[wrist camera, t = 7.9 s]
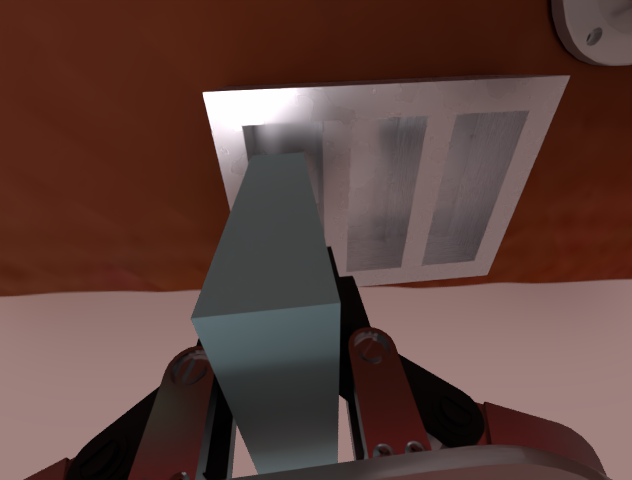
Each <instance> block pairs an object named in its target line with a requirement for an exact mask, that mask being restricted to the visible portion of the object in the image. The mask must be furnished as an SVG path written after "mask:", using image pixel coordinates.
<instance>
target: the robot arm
mask: <svg viewBox="0 0 632 480" xmlns="http://www.w3.org/2000/svg"><path fill="white" fill-rule="evenodd" d="M551 4H552V17H553V20H554V24H555V27H556V31H557V34H558V36H559V38H560V40H561V41H562V43H563V45H564V46H565V48H566V49H567V50H568V51H569V52H570V53H571V54H572V55H573V56H575V57H576V58H577V59H578V60H581V61H583V62H586V63H588V64H591V65H600V66H620V65H631V64H632V0H551ZM327 250H328V254H329V258H330V262H331V266H332V270H333V274H334V278H335V283H336V287H337V291H338V295H339V299H340V303H341V304H340V358H339V395H340V396H341V397H343V398H344V399H345V400H346V406H347V413H348V420H349V427H350V434H351V441H352V448H353V455H354V461H350V462H343V463H335V464H328V465H321V466H314V467H307V468H301V469H294V470H287V471H280V472H273V473H266V474H259V475H252V476H246V477H239V478H232V470H233V459H234V448H235V436H236V426H237V424H236V422H235V419H234V417H233V415H232V412H231V410H230V408H229V406H228V403H227V401H226V399H225V396H224V394H223V392H222V389H221V387H220V385H219V383H218V380H217V378H216V376H215V373H214V371H213V369H212V366H211V364H210V362H209V359H208V357H207V355H206V353H205V350H204V348H203V346H202V343H201V341H200V339H198V342H197V345H196V346H194V347H191V348H188V349H186V350H184V351H182V352H180V353H179V354H178V355H177V356H175V357H174V359H173V360H172V361H171V362H170V363H169V364H168V366H167V369H166V370H165V373H164V376H163V379H162V382H161V385H160V386H159V387H158V388H157V389H156V390H154V391H153V392H152V393H150V394H149V395H148V396H146V397H145V398H144V399H143V400H141V401H140V402H139V403H138V404H136V405H135V406H134V407H132V408H131V409H130V410H129V411H127V412H126V413H125V414H124V415H122V416H121V417H120V418H118V419H117V420H116V421H115V422H114V423H112V424H111V425H110V426H108V427H107V428H106V429H104V430H103V431H102V432H101V433H99V434H98V435H97V436H96V437H94V438H93V439H92V440H91V441H90V442H89V443H88V444H87V445H85V446H84V447H83V448H82V450H81V451H80V452H79V453H78V455H77V456H76V457H75V458H73V459H71V460H70V459H68V458H64V459H63V460H61V461H59V462H57V463H55V464H53V465H51V466H49V467H47V468H45V469H43V470H41V471H39V472H37V473H36V474H34V475H32V476H30V477H28V478H26V479H24V480H612V479H610V478H609V477H607V476H606V473H605V471H604V469H603V466H602V464H601V462H600V459H599V458H598V456H597V455H596V453H595V451H594V449H593V448H592V447H591V446H590V444H589V443H588V442H587V441H586V440H585V439H584V438H583V437H582V436H580V435H579V434H578V433H576V432H575V431H574V430H572V429H571V428H569V427H566V426H564V425H562V424H560V423H557V422H553V421H550V420H546V419H543V418H540V417H536V416H533V415H529V414H526V413H522V412H519V411H516V410H512V409H509V408H505V407H502V406H499V405H495V404H492V403H488V402H484V404H480V403H476V402H474V401H473V400H472V399H471V398H470V396H468V395H467V394H465V393H464V392H463V391H461V390H460V389H458V388H456V387H454V386H453V385H451V384H449V383H447V382H446V381H444V380H442V379H441V378H439V377H437V376H435V375H434V374H432V373H430V372H429V371H427V370H425V369H424V368H422V367H420V366H418V365H417V364H415V363H413V362H412V361H410V360H408V359H406V358H405V357H403V356H401V355H400V354H398V352H397V349H396V346H395V344H394V342H393V340H392V338H391V337H390V336H388V335H387V333H385V332H383V331H382V330H380V329H376V328H372V327H371V326H370V323H369V321H368V317H367V315H366V312H365V309H364V306H363V303H362V300H361V297H360V294H359V291H358V288H357V285H356V282H355V279H354V277H353V276H342V277H339V273H338V270H337V266H336V262H335V259H334V255H333V251H332V248H331V246H328V247H327Z"/></svg>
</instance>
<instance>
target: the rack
mask: <svg viewBox="0 0 632 480" xmlns="http://www.w3.org/2000/svg"><path fill="white" fill-rule="evenodd" d="M569 78H570V76H566V75H520V74H494V75H471V76H449V77H426V78H403V79H381V80H358V81H336V82H313V83H291V84H268V85H246V86H224V87H220V88H217V89H213V90H209V91H206V92H203V96H204V101H205V105H206V109H207V113H208V118H209V122H210V126H211V130H212V135H213V139H214V143H215V147H216V152H217V156H218V160H219V164H220V169H221V173H222V177H223V181H224V186H225V190H226V194H227V198H228V203H229V207H230V211H231V210H232V207H233V204H234V202H235V199H236V196H237V194H238V191H239V188H240V186H241V183H242V180H243V178H244V175H245V172H246V170H247V167H248V164H249V162H250V159H251V156H254V155H270V154H285V153H300V152H304V157H305V161H306V165H307V169H308V173H309V177H310V181H311V185H312V189H313V193H314V197H315V201H316V205H317V209H318V213H319V218H320V222H321V226H322V230H323V234H324V238H325V242H326V246H327V247H328V246H331V248H332V251H333V255H334V259H335V262H336V266H337V270H338V273H339V277H342V276H353V277H354V279H355V282H356V285H357V287H360V286H371V285H382V284H393V283H404V282H415V281H426V280H437V279H448V278H459V277H470V276H481V275H487V274H488V272H489V270H490V267H491V265H492V262H493V260H494V258H495V255H496V253H497V250H498V248H499V246H500V243H501V241H502V238H503V236H504V234H505V231H506V229H507V226H508V224H509V222H510V219H511V217H512V215H513V212H514V210H515V207H516V205H517V203H518V200H519V198H520V195H521V193H522V191H523V188H524V186H525V183H526V181H527V179H528V176H529V174H530V171H531V169H532V167H533V164H534V162H535V159H536V157H537V155H538V152H539V150H540V147H541V145H542V143H543V140H544V138H545V135H546V133H547V131H548V128H549V126H550V123H551V121H552V119H553V116H554V114H555V111H556V109H557V107H558V104H559V102H560V99H561V97H562V95H563V92H564V90H565V87H566V85H567V83H568V80H569Z"/></svg>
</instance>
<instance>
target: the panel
mask: <svg viewBox="0 0 632 480" xmlns="http://www.w3.org/2000/svg"><path fill="white" fill-rule="evenodd" d="M340 304H341V303H340V299H339V295H338V291H337V287H336V283H335V278H334V274H333V270H332V266H331V262H330V258H329V254H328V250H327V246H326V242H325V238H324V234H323V230H322V226H321V222H320V218H319V213H318V209H317V205H316V201H315V197H314V193H313V189H312V185H311V181H310V177H309V173H308V169H307V165H306V161H305V157H304V152H300V153H285V154H270V155H254V156H251V159H250V162H249V164H248V167H247V170H246V172H245V175H244V178H243V180H242V183H241V186H240V188H239V191H238V194H237V196H236V199H235V202H234V204H233V207H232V210H231V212H230V215H229V218H228V220H227V223H226V226H225V228H224V231H223V234H222V236H221V239H220V242H219V244H218V247H217V250H216V252H215V255H214V258H213V260H212V263H211V266H210V268H209V271H208V274H207V277H206V279H205V282H204V285H203V287H202V290H201V293H200V295H199V298H198V301H197V303H196V306H195V309H194V311H193V314H192V317H191V320H192V323H193V325H194V327H195V330H196V332H197V334H198V336H199V339H200V341H201V343H202V346H203V348H204V350H205V353H206V355H207V357H208V359H209V362H210V364H211V366H212V369H213V371H214V373H215V376H216V378H217V380H218V383H219V385H220V387H221V389H222V392H223V394H224V396H225V399H226V401H227V403H228V406H229V408H230V410H231V412H232V415H233V417H234V419H235V422H236V424H237V426H238V428H239V431H240V433H241V435H242V438H243V440H244V442H245V445H246V447H247V449H248V452H249V454H250V456H251V459H252V461H253V463H254V465H255V468H256V470H257V472H258V475H259V474H266V473H273V472H280V471H287V470H294V469H301V468H307V467H314V466H321V465H328V464H335V463H338V460H337V459H338V411H339V410H338V408H339V358H340Z"/></svg>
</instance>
